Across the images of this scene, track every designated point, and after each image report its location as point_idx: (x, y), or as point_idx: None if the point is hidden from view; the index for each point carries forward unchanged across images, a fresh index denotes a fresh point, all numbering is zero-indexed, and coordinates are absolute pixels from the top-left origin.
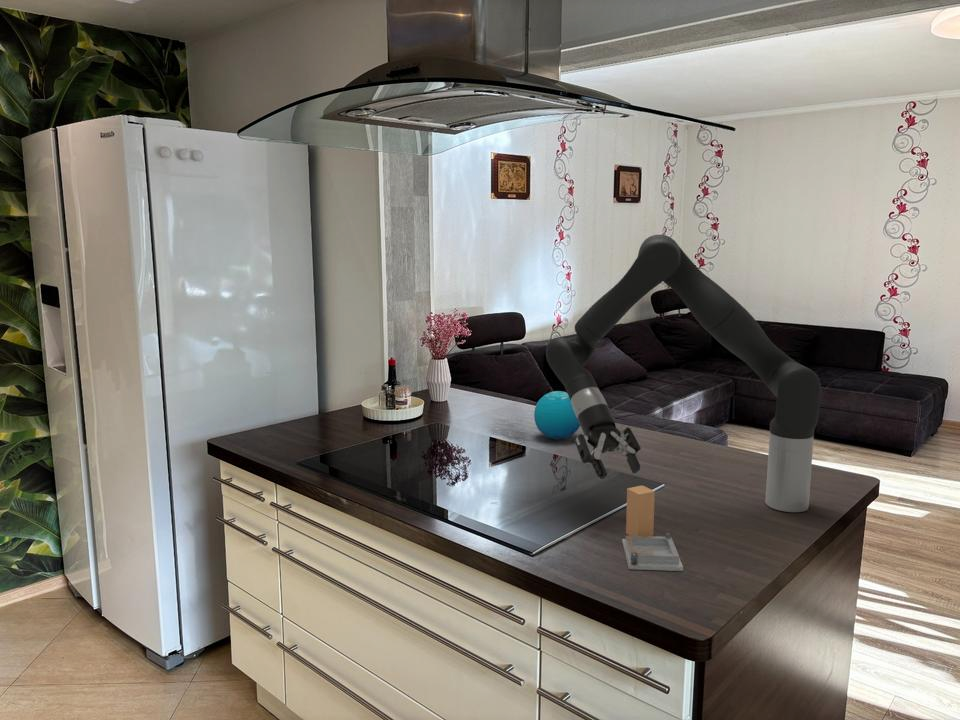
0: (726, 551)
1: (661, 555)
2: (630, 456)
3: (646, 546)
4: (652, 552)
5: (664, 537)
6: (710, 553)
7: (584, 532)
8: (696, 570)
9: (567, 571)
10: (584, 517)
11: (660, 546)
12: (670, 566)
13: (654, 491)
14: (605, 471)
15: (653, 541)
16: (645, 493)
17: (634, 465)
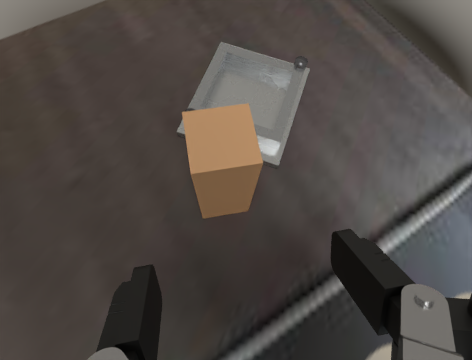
0: (97, 83)
1: (250, 53)
2: (141, 342)
3: None
4: (245, 97)
5: None
6: (132, 85)
7: None
8: (198, 45)
9: (415, 94)
10: (318, 346)
11: None
12: (241, 48)
13: (182, 112)
14: (345, 235)
15: None
16: (221, 108)
17: (150, 290)
